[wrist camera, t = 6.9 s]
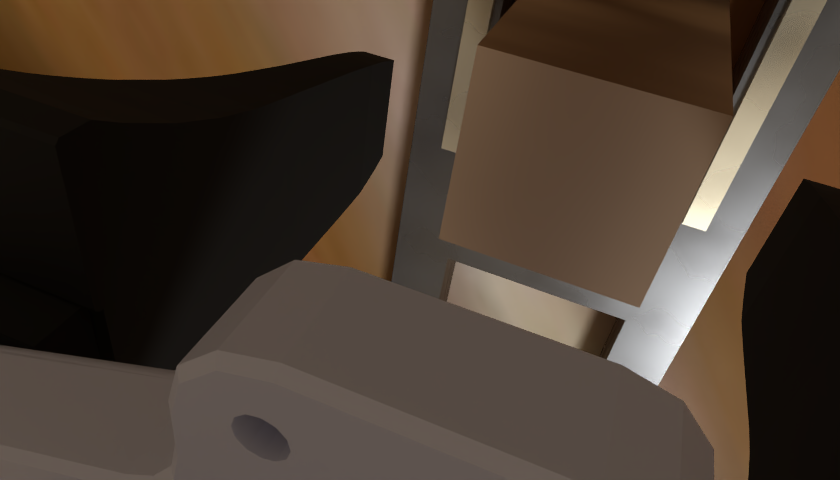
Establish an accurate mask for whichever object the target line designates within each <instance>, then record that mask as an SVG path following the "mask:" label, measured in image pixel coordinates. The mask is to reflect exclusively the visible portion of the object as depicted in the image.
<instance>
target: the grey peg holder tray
mask: <svg viewBox="0 0 840 480" xmlns="http://www.w3.org/2000/svg"><path fill="white" fill-rule="evenodd" d="M514 2H515V0H433V6H432V13H431V19H430V26H429V33H428V39H427V46H426V53H425V60H424V66H423V73H422V80H421V87H420V93H419V100H418V107H417V113H416V120H415V127H414V134H413V140H412V147H411V154H410V160H409V167H408V174H407V181H406V187H405V194H404V201H403V207H402V214H401V221H400V228H399V234H398V241H397V248H396V254H395V261H394V268H393V275H392V281H391V282H393V283H396V284H399V285H401V286H404V287H407V288H410V289H412V290H415V291H418V292H421V293H424V294H426V295H429V296H432V297H435V298H437V299H440V300H443V301H446V302H447V297H448V293H449V288H450V284H451V280H452V275H453V271H454V266H455V262H456V261H457V262H460V263H463V264H466V265H468V266H471V267H474V268H477V269H480V270H483V271H486V272H488V273H491V274H494V275H497V276H500V277H503V278H506V279H509V280H511V281H514V282H517V283H520V284H523V285H526V286H529V287H531V288H534V289H537V290H540V291H543V292H546V293H549V294H551V295H554V296H557V297H560V298H563V299H566V300H569V301H572V302H574V303H577V304H580V305H583V306H586V307H589V308H592V309H594V310H597V311H600V312H603V313H606V314H609V315H612V316H615V317H617V320H616V322H615V324H614V326H613V329H612V331H611V333H610V335H609V337H608V339H607V341H606V344H605V346H604V348H603V350H602V352H601V354H600V356H599V357H601V358H604V359H607V360H610V361H612V362H615V363H618V364H621V365H623V366H625V367H626V368H628V369H630V370H631V371H633V372H635V373H637V374H638V375H640V376H642V377H643V378H645V379H647V380H648V381H650V382H652V383H653V384H655V385H657V386H658V384H659V382H660V381H661V379H662V377H663V375H664V374H665V372H666V370H667V368H668V367H669V365H670V363H671V362H672V360H673V358H674V356H675V355H676V353H677V351H678V349H679V348H680V346H681V344H682V342H683V341H684V339H685V337H686V335H687V334H688V332H689V330H690V329H691V327H692V325H693V323H694V322H695V320H696V318H697V316H698V315H699V313H700V311H701V309H702V308H703V306H704V304H705V302H706V301H707V299H708V297H709V296H710V294H711V292H712V290H713V289H714V287H715V285H716V283H717V282H718V280H719V278H720V276H721V275H722V273H723V271H724V270H725V268H726V266H727V264H728V263H729V261H730V259H731V257H732V256H733V254H734V252H735V250H736V249H737V247H738V245H739V243H740V242H741V240H742V238H743V237H744V235H745V233H746V231H747V230H748V228H749V226H750V224H751V223H752V221H753V219H754V217H755V216H756V214H757V212H758V210H759V209H760V207H761V205H762V204H763V202H764V200H765V198H766V197H767V195H768V193H769V191H770V190H771V188H772V186H773V184H774V183H775V181H776V179H777V177H778V176H779V174H780V172H781V171H782V169H783V167H784V165H785V164H786V162H787V160H788V158H789V157H790V155H791V153H792V151H793V150H794V148H795V146H796V144H797V143H798V141H799V139H800V138H801V136H802V134H803V132H804V131H805V129H806V127H807V125H808V124H809V122H810V120H811V118H812V117H813V115H814V113H815V112H816V110H817V108H818V106H819V105H820V103H821V101H822V99H823V98H824V96H825V94H826V92H827V91H828V89H829V87H830V85H831V84H832V82H833V80H834V79H835V77H836V75H837V73H838V72H839V70H840V0H766V1H765V3H764V5H763V7H762V10H761V12H760V14H759V16H758V18H757V20H756V22H755V25H754V27H753V29H752V31H751V33H750V35H749V37H748V40H747V42H746V44H745V46H744V48H743V50H742V52H741V55H740V57H739V59H738V61H737V63H736V65H735V67H734V70H733V72H732V88H733V118H732V120H731V123H730V125H729V127H728V129H727V131H726V133H725V135H724V137H723V139H722V141H721V143H720V145H719V147H718V149H717V151H716V153H715V155H714V157H713V159H712V161H711V163H710V165H709V167H708V169H707V171H706V173H705V175H704V178H703V180H702V182H701V184H700V186H699V188H698V190H697V192H696V194H695V196H694V198H693V200H692V202H691V204H690V206H689V208H688V210H687V212H686V214H685V216H684V218H683V220H682V222H681V224H680V226H679V228H678V230H677V233H676V235H675V237H674V239H673V241H672V243H671V245H670V247H669V249H668V251H667V253H666V255H665V257H664V259H663V261H662V263H661V265H660V267H659V269H658V271H657V273H656V275H655V277H654V279H653V281H652V283H651V285H650V288H649V290H648V292H647V294H646V296H645V298H644V300H643V302H642V304H641V306H640V308H638V307H635V306H632V305H630V304H627V303H624V302H621V301H618V300H615V299H612V298H609V297H606V296H603V295H601V294H598V293H595V292H592V291H589V290H586V289H583V288H580V287H577V286H574V285H572V284H569V283H566V282H563V281H560V280H557V279H554V278H551V277H548V276H545V275H543V274H540V273H537V272H534V271H531V270H528V269H525V268H522V267H519V266H516V265H514V264H511V263H508V262H505V261H502V260H499V259H496V258H493V257H490V256H488V255H485V254H482V253H479V252H476V251H473V250H470V249H467V248H464V247H461V246H459V245H456V244H453V243H450V242H447V241H444V240H441V239H439V235H440V230H441V225H442V220H443V215H444V210H445V205H446V200H447V195H448V190H449V185H450V180H451V175H452V170H453V165H454V160H455V155H456V150H457V145H458V140H459V135H460V130H461V125H462V120H463V115H464V110H465V105H466V99H467V94H468V89H469V84H470V79H471V74H472V69H473V64H474V59H475V54H476V49H477V45H478V44H479V43H480V41H481V40H482V39H483V38H484V37H485V36H486V35H487V34H488V32H489V31H490V30H491V29H492V28H493V27H494V26H495V24H496V23H497V22H498V21H499V20H500V19H501V18H502V17H503V15H504V14H505V13H506V12H507V11H508V10H509V9H510V7H511V6H512V5H513V4H514Z"/></svg>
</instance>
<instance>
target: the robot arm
mask: <svg viewBox="0 0 840 480" xmlns="http://www.w3.org/2000/svg"><path fill="white" fill-rule="evenodd" d="M393 63H394V60H391V59H388V58H384V57H381V56H377V55H374V54H370V53H367V52H348V53H342V54H336V55H331V56H325V57H321V58H316V59H311V60H306V61H302V62H297V63H292V64H287V65H282V66H277V67H271V68H265V69H260V70H254V71H248V72H242V73H236V74H229V75H222V76H213V77H202V78H189V79H173V80H105V79H87V78H73V77H61V76H49V75H40V74H31V73H23V72H16V71H10V70H3V69H0V480H714V449H713V447H712V446H711V444H710V442H709V441H708V439H707V438H706V436H705V434H704V433H703V431H702V430H701V428H700V426H699V425H698V423H697V422H696V420H695V418H694V417H693V415H692V414H691V412H690V410H689V409H688V407H687V406H686V404H685V402H684V401H682V400H681V399H679V398H677V397H675V396H674V395H672V394H670V393H669V392H667V391H665V390H664V389H662V388H660V387H659V386H657V385H655V384H653V383H652V382H650V381H648V380H647V379H645V378H643V377H642V376H640V375H638V374H637V373H635V372H633V371H631V370H630V369H628V368H626V367H625V366H623V365H621V364H618V363H615V362H612V361H610V360H607V359H604V358H601V357H598V356H596V355H593V354H590V353H587V352H585V351H582V350H579V349H576V348H573V347H571V346H568V345H565V344H562V343H560V342H557V341H554V340H551V339H548V338H546V337H543V336H540V335H537V334H535V333H532V332H529V331H526V330H524V329H521V328H518V327H515V326H512V325H510V324H507V323H504V322H501V321H499V320H496V319H493V318H490V317H487V316H485V315H482V314H479V313H476V312H474V311H471V310H468V309H465V308H462V307H460V306H457V305H454V304H451V303H449V302H446V301H443V300H440V299H437V298H435V297H432V296H429V295H426V294H424V293H421V292H418V291H415V290H412V289H410V288H407V287H404V286H401V285H399V284H396V283H393V282H390V281H387V280H385V279H382V278H379V277H376V276H374V275H371V274H368V273H365V272H363V271H360V270H357V269H354V268H351V267H344V266H337V265H330V264H322V263H315V262H308V261H301V260H302V259H303V258H304V257H305V256H306V255H307V253H308V252H309V251H310V250H311V249H312V248H313V247H314V245H315V244H316V243H317V242H318V241H319V240H320V239H321V237H322V236H323V235H324V234H325V233H326V232H327V231H328V229H329V228H330V227H331V226H332V225H333V224H334V223H335V221H336V220H337V219H338V218H339V217H340V216H341V215H342V213H343V212H344V211H345V210H346V209H347V208H348V206H349V205H350V204H351V203H352V202H353V200H354V199H355V198H356V197H357V196H358V194H359V193H360V192H361V190H362V189H363V187H364V186H365V184H366V183H367V181H368V179H369V178H370V176H371V175H372V173H373V171H374V170H375V168H376V166H377V164H378V163H379V161H380V159H381V158H382V155H383V147H384V138H385V130H386V122H387V113H388V105H389V97H390V88H391V80H392V72H393ZM742 337H743V352H744V366H745V379H746V392H747V405H748V418H749V438H750V460H749V477H748V480H840V189H838V188H834V187H831V186H827V185H824V184H820V183H817V182H814V181H810V180H807V179H803V181H802V182H801V184H800V186H799V187H798V189H797V191H796V192H795V194H794V196H793V197H792V199H791V201H790V202H789V204H788V206H787V207H786V209H785V211H784V212H783V214H782V216H781V217H780V219H779V220H778V222H777V224H776V225H775V227H774V229H773V230H772V232H771V234H770V235H769V237H768V239H767V240H766V242H765V244H764V245H763V247H762V249H761V250H760V252H759V254H758V255H757V257H756V259H755V260H754V262H753V264H752V265H751V267H750V268H749V270H748V272H747V274H746V283H745V291H744V299H743V310H742Z"/></svg>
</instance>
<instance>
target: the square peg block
mask: <svg viewBox="0 0 840 480" xmlns="http://www.w3.org/2000/svg"><path fill="white" fill-rule="evenodd" d="M732 118H733V88H732V59H731V31H730V3H729V0H517V1H516V2H515V3H514V4H513V5H512V6H511V7H510V9H509V10H508V11H507V12H506V13H505V14H504V15H503V17H502V18H501V19H500V20H499V21H498V22H497V23H496V24H495V26H494V27H493V28H492V29H491V30H490V31H489V32H488V34H487V35H486V36H485V37H484V38H483V39H482V40H481V41H480V43H479V44H478V45H477V49H476V54H475V59H474V64H473V69H472V74H471V79H470V84H469V89H468V94H467V99H466V105H465V110H464V115H463V120H462V125H461V130H460V135H459V140H458V145H457V150H456V155H455V160H454V165H453V170H452V175H451V180H450V185H449V190H448V195H447V200H446V205H445V210H444V215H443V220H442V225H441V230H440V235H439V239H441V240H444V241H447V242H450V243H453V244H456V245H459V246H461V247H464V248H467V249H470V250H473V251H476V252H479V253H482V254H485V255H488V256H490V257H493V258H496V259H499V260H502V261H505V262H508V263H511V264H514V265H516V266H519V267H522V268H525V269H528V270H531V271H534V272H537V273H540V274H543V275H545V276H548V277H551V278H554V279H557V280H560V281H563V282H566V283H569V284H572V285H574V286H577V287H580V288H583V289H586V290H589V291H592V292H595V293H598V294H601V295H603V296H606V297H609V298H612V299H615V300H618V301H621V302H624V303H627V304H630V305H632V306H635V307H638V308H640V306H641V304H642V302H643V300H644V298H645V296H646V294H647V292H648V290H649V288H650V285H651V283H652V281H653V279H654V277H655V275H656V273H657V271H658V269H659V267H660V265H661V263H662V261H663V259H664V257H665V255H666V253H667V251H668V249H669V247H670V245H671V243H672V241H673V239H674V237H675V235H676V233H677V230H678V228H679V226H680V224H681V222H682V220H683V218H684V216H685V214H686V212H687V210H688V208H689V206H690V204H691V202H692V200H693V198H694V196H695V194H696V192H697V190H698V188H699V186H700V184H701V182H702V180H703V178H704V175H705V173H706V171H707V169H708V167H709V165H710V163H711V161H712V159H713V157H714V155H715V153H716V151H717V149H718V147H719V145H720V143H721V141H722V139H723V137H724V135H725V133H726V131H727V129H728V127H729V125H730V123H731V120H732Z"/></svg>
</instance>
